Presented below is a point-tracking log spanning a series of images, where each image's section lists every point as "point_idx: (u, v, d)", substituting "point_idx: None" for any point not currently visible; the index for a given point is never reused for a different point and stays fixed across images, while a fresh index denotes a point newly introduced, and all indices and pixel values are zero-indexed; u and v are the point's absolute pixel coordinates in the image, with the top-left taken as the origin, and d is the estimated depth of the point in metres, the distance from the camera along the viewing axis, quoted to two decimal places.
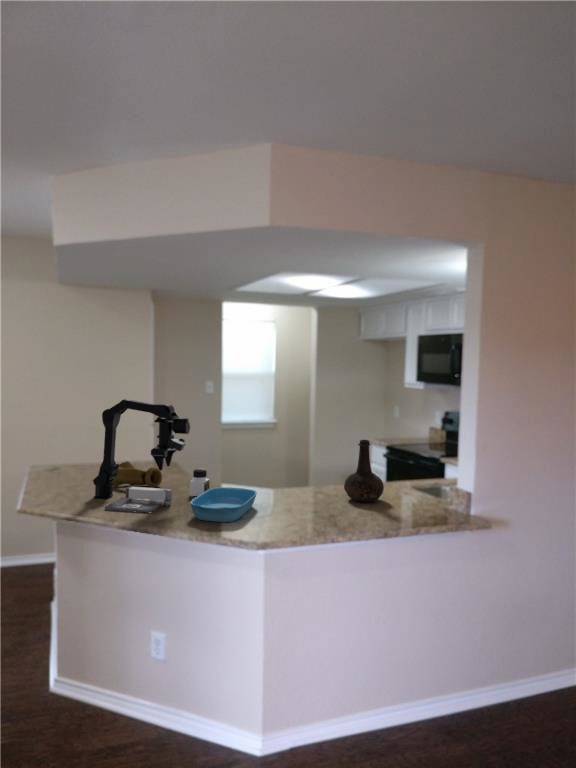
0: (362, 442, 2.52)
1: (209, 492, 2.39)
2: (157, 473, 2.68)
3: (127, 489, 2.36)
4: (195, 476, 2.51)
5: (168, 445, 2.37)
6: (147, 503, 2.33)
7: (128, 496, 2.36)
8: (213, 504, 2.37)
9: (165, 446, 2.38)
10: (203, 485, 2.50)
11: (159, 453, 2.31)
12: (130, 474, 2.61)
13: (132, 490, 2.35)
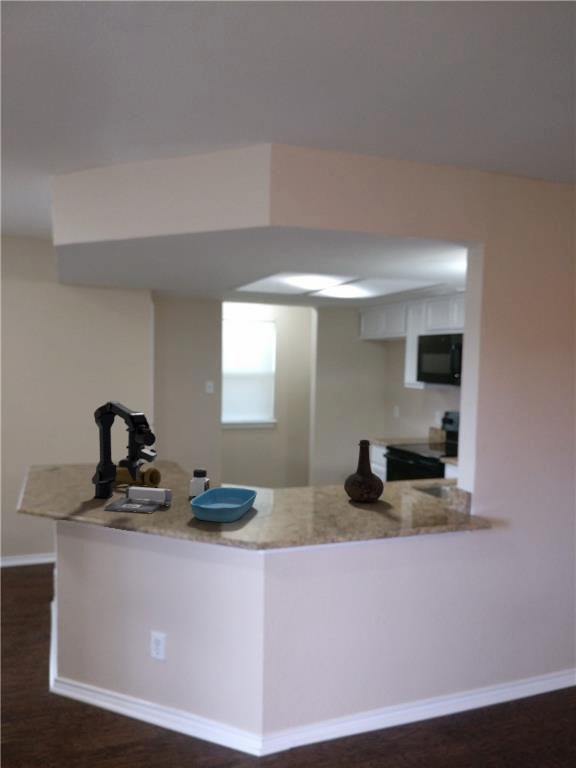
0: (362, 442, 2.52)
1: (209, 492, 2.39)
2: (156, 473, 2.67)
3: (127, 489, 2.36)
4: (195, 476, 2.51)
5: (138, 456, 2.24)
6: (147, 503, 2.33)
7: (128, 496, 2.36)
8: (213, 504, 2.37)
9: (135, 457, 2.25)
10: (203, 485, 2.50)
11: (127, 465, 2.18)
12: (129, 475, 2.60)
13: (132, 490, 2.35)
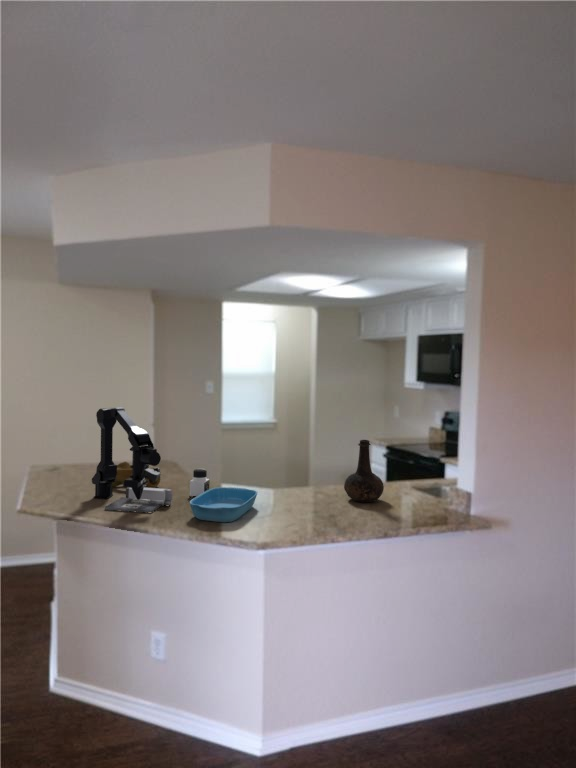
0: (362, 442, 2.52)
1: (210, 492, 2.39)
2: None
3: (127, 489, 2.36)
4: (195, 476, 2.51)
5: (142, 476, 2.26)
6: (147, 503, 2.33)
7: (128, 496, 2.36)
8: (214, 504, 2.37)
9: (139, 477, 2.27)
10: (203, 485, 2.50)
11: (131, 485, 2.20)
12: (129, 475, 2.60)
13: (132, 490, 2.35)
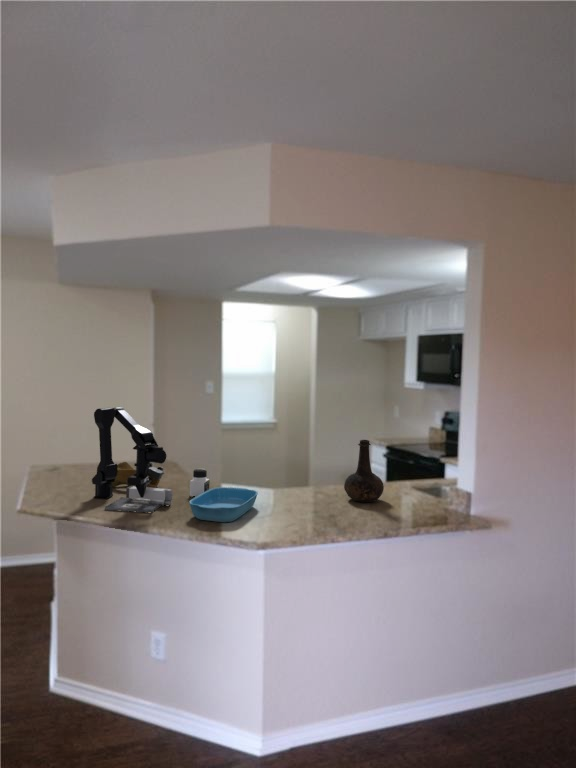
0: (362, 442, 2.52)
1: (210, 492, 2.39)
2: None
3: (127, 489, 2.36)
4: (195, 476, 2.51)
5: (145, 474, 2.30)
6: (147, 503, 2.33)
7: (128, 496, 2.36)
8: (214, 504, 2.37)
9: (142, 475, 2.31)
10: (203, 485, 2.50)
11: (135, 482, 2.24)
12: (128, 475, 2.60)
13: (132, 490, 2.36)
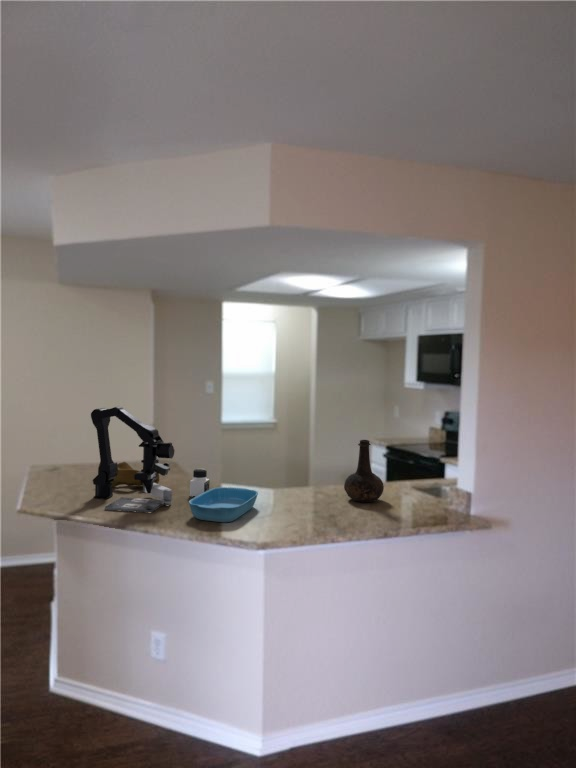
0: (362, 442, 2.52)
1: (211, 492, 2.39)
2: None
3: None
4: (195, 476, 2.51)
5: (152, 470, 2.36)
6: (147, 503, 2.33)
7: (144, 490, 2.46)
8: (214, 504, 2.37)
9: (149, 471, 2.37)
10: (203, 485, 2.50)
11: (142, 478, 2.30)
12: (127, 475, 2.60)
13: None
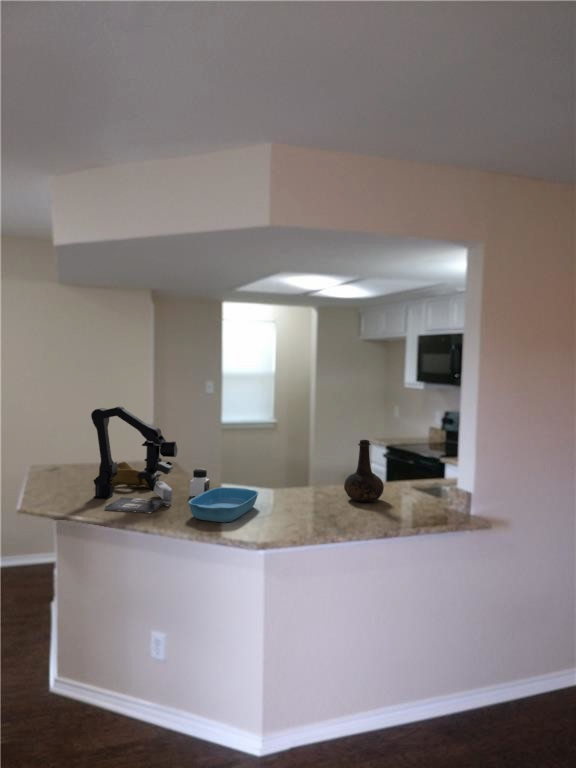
0: (362, 442, 2.52)
1: (211, 492, 2.40)
2: None
3: None
4: (195, 476, 2.51)
5: (155, 468, 2.41)
6: (147, 503, 2.33)
7: (154, 489, 2.50)
8: (215, 504, 2.37)
9: (152, 469, 2.41)
10: (203, 485, 2.50)
11: (146, 477, 2.35)
12: (127, 475, 2.59)
13: (155, 484, 2.48)
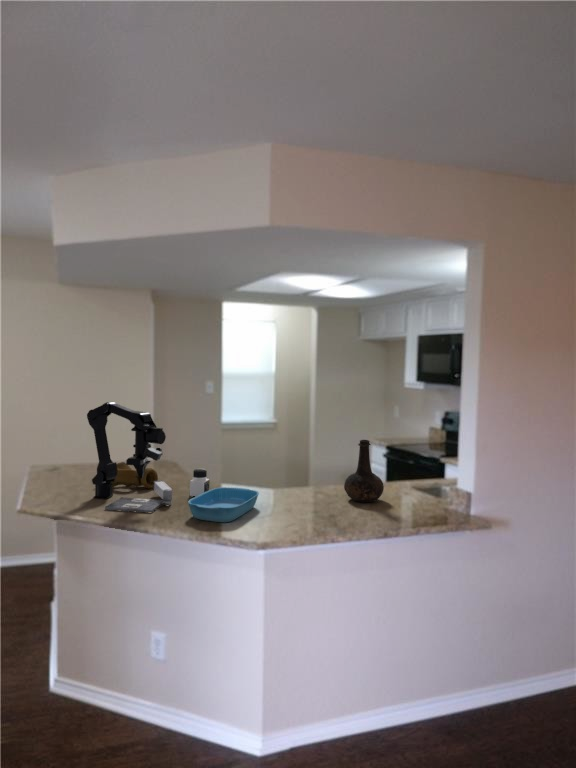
0: (362, 442, 2.52)
1: (212, 492, 2.40)
2: (153, 474, 2.66)
3: (154, 482, 2.50)
4: (195, 476, 2.51)
5: (144, 454, 2.33)
6: (147, 503, 2.33)
7: (154, 489, 2.50)
8: (215, 504, 2.37)
9: (141, 455, 2.33)
10: (203, 485, 2.50)
11: (134, 463, 2.27)
12: (126, 475, 2.59)
13: (155, 484, 2.48)
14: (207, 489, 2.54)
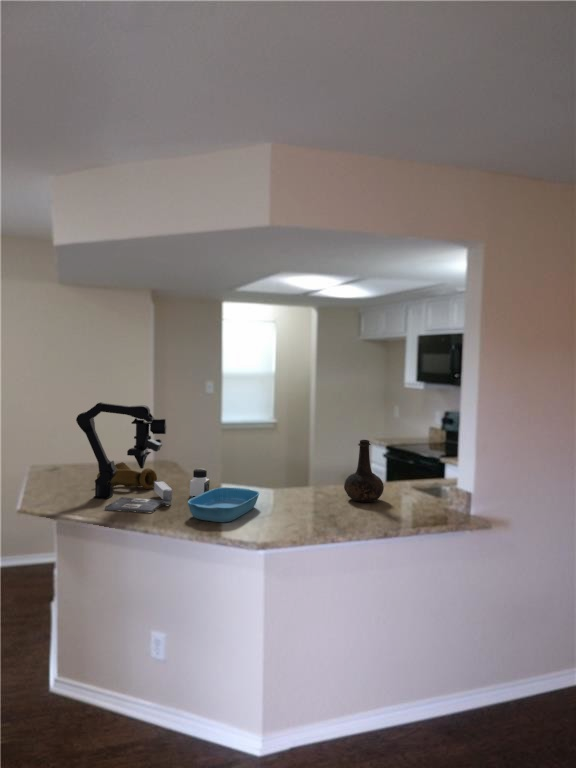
0: (362, 442, 2.52)
1: (213, 492, 2.40)
2: (152, 474, 2.65)
3: (154, 482, 2.50)
4: (195, 476, 2.51)
5: (145, 446, 2.43)
6: (147, 503, 2.33)
7: (154, 489, 2.50)
8: (216, 504, 2.37)
9: (142, 447, 2.44)
10: (203, 485, 2.50)
11: (135, 454, 2.37)
12: (125, 476, 2.59)
13: (155, 484, 2.48)
14: (207, 489, 2.54)
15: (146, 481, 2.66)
